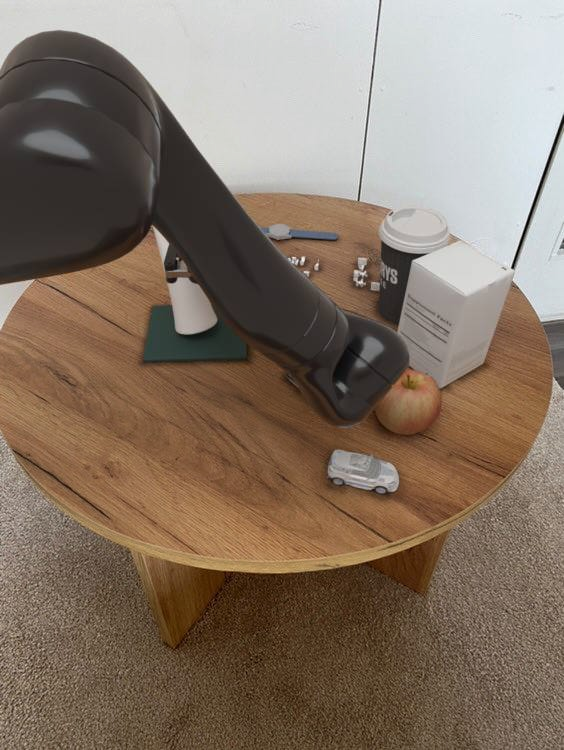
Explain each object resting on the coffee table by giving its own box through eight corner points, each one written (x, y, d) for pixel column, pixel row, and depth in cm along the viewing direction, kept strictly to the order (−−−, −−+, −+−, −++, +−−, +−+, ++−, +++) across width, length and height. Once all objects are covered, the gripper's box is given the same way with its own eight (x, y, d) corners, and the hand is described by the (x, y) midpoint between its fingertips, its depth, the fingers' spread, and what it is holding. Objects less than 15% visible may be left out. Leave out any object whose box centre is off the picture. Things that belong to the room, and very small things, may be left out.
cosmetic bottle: (214, 331, 79) (168, 164, 69) (172, 338, 80) (120, 174, 69) (220, 313, 84) (178, 156, 74) (180, 319, 85) (133, 165, 75)
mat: (143, 362, 79) (142, 359, 78) (153, 308, 87) (152, 305, 87) (246, 359, 79) (246, 357, 79) (246, 306, 88) (246, 303, 87)
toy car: (396, 498, 63) (400, 482, 61) (324, 483, 65) (326, 467, 63) (399, 471, 66) (403, 455, 64) (330, 457, 67) (332, 441, 65)
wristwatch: (227, 224, 105) (226, 219, 104) (338, 232, 103) (338, 227, 102) (222, 237, 102) (222, 232, 101) (337, 245, 100) (337, 240, 99)
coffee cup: (398, 284, 92) (413, 195, 81) (446, 313, 87) (468, 222, 76) (355, 307, 88) (365, 217, 77) (402, 339, 82) (420, 247, 72)
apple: (358, 430, 70) (364, 383, 65) (384, 390, 75) (393, 343, 70) (420, 457, 67) (433, 411, 62) (444, 413, 72) (458, 367, 67)
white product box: (435, 329, 84) (460, 237, 74) (484, 364, 79) (519, 270, 68) (390, 352, 80) (410, 258, 70) (438, 391, 75) (467, 294, 64)
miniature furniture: (269, 251, 98) (269, 244, 97) (419, 271, 94) (420, 263, 93) (259, 275, 93) (258, 267, 92) (416, 297, 89) (417, 289, 88)
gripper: (301, 240, 64) (216, 182, 74) (198, 282, 58) (121, 213, 68) (299, 295, 69) (220, 234, 79) (205, 339, 64) (132, 267, 73)
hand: (174, 225), depth 74 cm, fingers closed
